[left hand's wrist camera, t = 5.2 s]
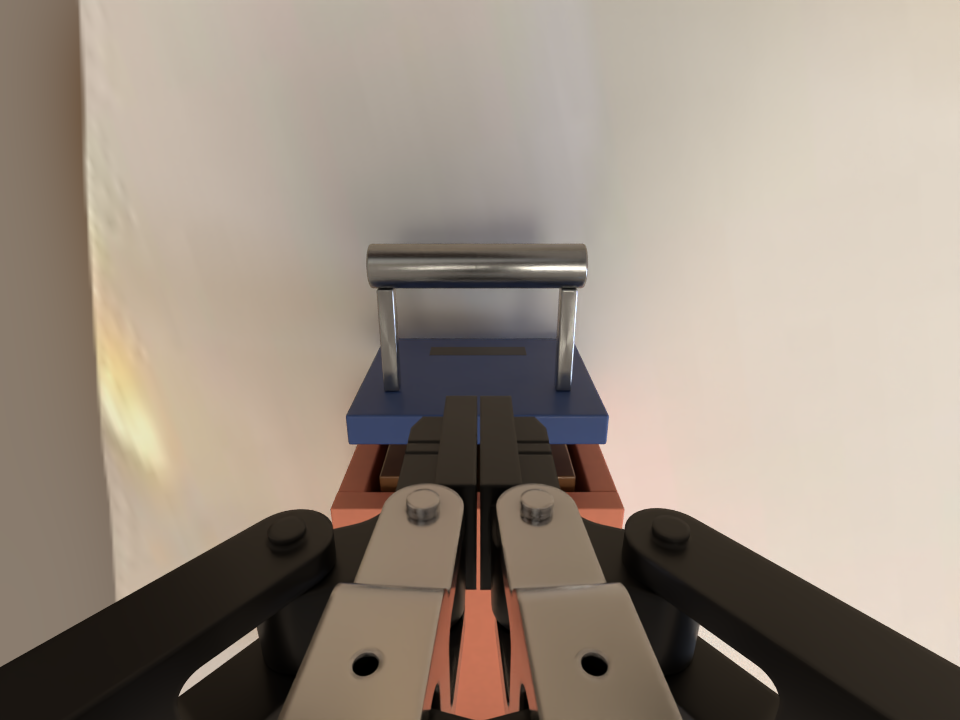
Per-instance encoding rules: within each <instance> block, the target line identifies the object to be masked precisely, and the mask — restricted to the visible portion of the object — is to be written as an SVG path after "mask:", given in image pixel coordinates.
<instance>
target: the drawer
mask: <svg viewBox="0 0 960 720" xmlns="http://www.w3.org/2000/svg"><path fill="white" fill-rule="evenodd" d="M366 267H367V277H368V282H369V285H370V287H371V288H378V289H377V302H378V315H379V329H380V342H381V346H380V348H379V350H378V352H377V354H376V356H375V358H374V361H373V363H372V365H371V367H370V369H369V371H368V373H367V375H366V377H365V379H364V381H363V383H362V385H361V387H360V389H359V391H358V393H357V395H356V397H355V399H354V401H353V403H352V405H351V407H350V409H349V411H348V413H347V415H346V423H347V432H348V442H349V444H389V447H388V450H387V454H386V457H385V460H384V464H383V467H382V470H381V474H380V477H379V478H380V490H381V492H395V491H396V487H397V483H398V479H399V475H400V471H401V467H402V463H403V459H404V454H405V450H406V446H407V443H408V438H409V434H410V430H411V427H412V426H413V425H414V424H415V423H417V422H418V421H419V420H420V419H421V418H422V417H423V416H443V414H444V407H445V400H446V396H477V492H480V396H511V398H512V406H513V414H514V417H535V418H536V419H537V420H538V421H540V422H541V423H542V424H543V425H544V426H545V427H546V429H547V434H548V438H549V444H550V446H551V451H552V455H553V459H554V464H555V468H556V472H557V476H558V481H559V485H560V489H561V490H562V491H564V492H575V479H576V477H575V473H574V470H573V466H572V463H571V459H570V456H569V452H568V449H567V445H566V444H606V441H607V430H608V420H609V415H608V413H607V411H606V409H605V407H604V405H603V403H602V401H601V398H600V396H599V394H598V392H597V390H596V388H595V386H594V384H593V382H592V380H591V377H590V375H589V373H588V371H587V369H586V367H585V365H584V363H583V361H582V358H581V356H580V354H579V352H578V350H577V348H576V346H575V344H574V340H575V325H576V311H577V296H578V290H577V288H583V287H584V286H585V283H586V279H587V272H588V254H587V249H586V246H585V244H370V245H369V247H368V250H367V259H366ZM395 288H559V304H558V322H557V339H398V322H397V306H396V289H395Z"/></svg>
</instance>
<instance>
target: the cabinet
mask: <svg viewBox="0 0 960 720" xmlns="http://www.w3.org/2000/svg"><path fill="white" fill-rule="evenodd" d="M566 445H567V449H568V452H569V456H570V459H571V463H572V466H573V470H574V473H575V477H576V479H575V492H565V493H567V494H568V495H569V496H570V497H571V498H572V499H573V500H574V501H575V503H576V505H577V508H578V510H579V513H580V515H581V517H583V518H585V519H587V520H590V521H592V522H595V523H599V524H602V525H607V526H611V527H616V528H620V529H622V525H623V517H624V507H623V504H622V502H621V499H620V497H619V494H618V493H617V490H616V487H615V485H614V482H613V480H612V477H611V475H610V472H609V469H608V467H607V464H606V462H605V459H604V457H603V454H602V452H601V449H600V447H599V444H566ZM388 447H389V444H358V445H357V447H356V450H355V452H354V454H353V457H352V459H351V462H350V464H349V467H348V469H347V472H346V474H345V476H344V479H343V481H342V484H341V486H340V489H339V491H338V493H337V495H336V497H335V500H334V502H333V505H332V507H331V517H332V525H333V529H335V528H340V527H344V526H349V525H353V524H357V523H361V522H364V521H366V520H369V519H371V518H373V517H375V516H377V515H378V514H380V513H381V510H382V508H383V505H384V503H385V501H386V500H387V499H388V498H389V497H390V496H391V495H392V494H393V493H395V492H381V490H380V478H379V477H380V474H381V470H382V467H383V464H384V460H385V457H386V454H387V450H388ZM455 715H458V716H462V717H465V718H469V719H474V720H486V719H491V718H494V717H498V716H502V715H505V710H504V702H503V693H502V685H501V677H500V668H499V660H498V652H497V643H496V635H495V616H494V614H493V611H492V606H491V590H480V492H477V590H465V635H464V643H463V652H462V660H461V668H460V677H459V685H458V693H457V702H456V710H455Z"/></svg>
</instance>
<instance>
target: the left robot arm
mask: <svg viewBox="0 0 960 720" xmlns="http://www.w3.org/2000/svg"><path fill="white" fill-rule="evenodd" d="M465 590H477V396H446V400H445V407H444V414H443V416H423V417H422V418H421V419H420V420H419V421H418V422H417V423H415V424H414V425H413V426H412V427H411V430H410V434H409V438H408V443H407V446H406V450H405V454H404V459H403V463H402V467H401V471H400V475H399V479H398V483H397V487H396V491H395V493H393V494H392V495H391V496H390V497H389V498H388V499H387V500H386V501H385V503H384V505H383V508H382V510H381V513H380V514H378V515H377V516H375V517H373V518H371V519H369V520H366V521H364V522H361V523H357V524H353V525H349V526H344V527H340V528H335V529H333V525H332V523H331V521H330V520H329V518H328V517H326V516H325V515H324V514H322V513H320V512H317V511H313V510H306V509H297V510H289V511H284V512H280V513H277V514H275V515H272V516H270V517H268V518H266V519H264V520H262V521H260V522H258V523H256V524H255V525H253V526H251V527H249V528H248V529H246V530H244V531H242V532H240V533H239V534H237V535H235V536H233V537H231V538H230V539H228V540H226V541H224V542H223V543H221V544H219V545H217V546H215V547H214V548H212V549H210V550H208V551H207V552H205V553H203V554H201V555H199V556H198V557H196V558H194V559H192V560H190V561H189V562H187V563H185V564H183V565H182V566H180V567H178V568H176V569H174V570H173V571H171V572H169V573H167V574H166V575H164V576H162V577H160V578H158V579H157V580H155V581H153V582H151V583H149V584H148V585H146V586H144V587H142V588H141V589H139V590H137V591H135V592H133V593H132V594H130V595H128V596H126V597H125V598H123V599H121V600H119V601H117V602H116V603H114V604H112V605H110V606H108V607H107V608H105V609H103V610H101V611H100V612H98V613H96V614H94V615H92V616H91V617H89V618H87V619H85V620H84V621H82V622H80V623H78V624H76V625H75V626H73V627H71V628H69V629H67V630H66V631H64V632H62V633H60V634H59V635H57V636H55V637H53V638H52V639H50V640H48V641H46V642H44V643H43V644H41V645H39V646H37V647H35V648H34V649H32V650H30V651H28V652H27V653H25V654H23V655H21V656H19V657H18V658H16V659H14V660H12V661H10V662H9V663H7V664H5V665H3V666H2V667H0V720H474V719H469V718H465V717H462V716H458V715H455V710H456V702H457V693H458V685H459V677H460V668H461V660H462V652H463V643H464V635H465ZM480 590H491V606H492V611H493V614H494V616H495V635H496V643H497V652H498V660H499V668H500V677H501V685H502V693H503V702H504V710H505V715H502V716H498V717H494V718H491V719H486V720H960V667H958V666H957V665H955V664H953V663H951V662H950V661H948V660H946V659H944V658H942V657H941V656H939V655H937V654H935V653H934V652H932V651H930V650H928V649H926V648H925V647H923V646H921V645H919V644H917V643H916V642H914V641H912V640H910V639H909V638H907V637H905V636H903V635H901V634H900V633H898V632H896V631H894V630H893V629H891V628H889V627H887V626H885V625H884V624H882V623H880V622H878V621H876V620H875V619H873V618H871V617H869V616H868V615H866V614H864V613H862V612H860V611H859V610H857V609H855V608H853V607H852V606H850V605H848V604H846V603H844V602H843V601H841V600H839V599H837V598H835V597H834V596H832V595H830V594H828V593H827V592H825V591H823V590H821V589H819V588H818V587H816V586H814V585H812V584H811V583H809V582H807V581H805V580H803V579H802V578H800V577H798V576H796V575H794V574H793V573H791V572H789V571H787V570H786V569H784V568H782V567H780V566H778V565H777V564H775V563H773V562H771V561H770V560H768V559H766V558H764V557H762V556H761V555H759V554H757V553H755V552H753V551H752V550H750V549H748V548H746V547H745V546H743V545H741V544H739V543H737V542H736V541H734V540H732V539H730V538H729V537H727V536H725V535H723V534H721V533H720V532H718V531H716V530H714V529H712V528H711V527H709V526H707V525H705V524H704V523H702V522H700V521H698V520H696V519H695V518H693V517H691V516H689V515H686V514H684V513H681V512H678V511H674V510H670V509H662V508H650V509H644V510H641V511H638V512H636V513H634V514H633V515H631V516H630V517H629V519H628V520H627V522H626V524H625V529H620V528H616V527H611V526H607V525H602V524H599V523H595V522H592V521H590V520H587V519H585V518H583V517H581V515H580V513H579V510H578V508H577V505H576V503H575V501H574V500H573V499H572V498H571V497H570V496H569V495H568V494H567V493H565V492H564V491H562V490H561V489H560V485H559V481H558V476H557V472H556V468H555V464H554V459H553V455H552V451H551V446H550V444H549V438H548V434H547V429H546V427H545V426H544V425H543V424H542V423H541V422H540V421H538V420H537V419H536V418H535V417H514V414H513V406H512V398H511V396H480ZM699 625H701V626H703V627H704V628H705V629H707V630H708V631H710V632H711V633H712V634H714V635H715V636H717V637H718V638H719V639H721V640H722V641H724V642H725V643H726V644H728V645H729V646H731V647H732V648H733V649H735V650H736V651H738V652H739V653H740V654H742V655H743V656H745V657H746V658H747V659H749V660H750V661H752V662H753V663H754V664H756V665H757V666H758V667H760V668H761V669H762V670H763V671H764V672H765V673H766V674H767V675H768V676H769V678H770V679H771V680H772V682H773V683H774V685H775V687H776V689H777V691H778V694H779V695H778V694H777V693H775V692H774V691H773V690H771V689H770V688H769V687H767V686H766V685H764V684H763V683H762V682H760V681H759V680H758V679H756V678H755V677H754V676H752V675H751V674H749V673H748V672H747V671H745V670H744V669H743V668H741V667H740V666H739V665H737V664H736V663H734V662H733V661H732V660H730V659H729V658H728V657H726V656H725V655H724V654H722V653H721V652H719V651H718V650H717V649H715V648H714V647H713V646H711V645H710V644H709V643H707V642H706V641H704V640H703V639H702V638H700V637H699V636H698V630H699ZM256 627H257V630H258V635H259V638H258V639H257V640H256V641H254V642H253V643H251V644H250V645H249V646H247V647H246V648H245V649H243V650H242V651H241V652H239V653H238V654H236V655H235V656H234V657H232V658H231V659H230V660H228V661H227V662H226V663H224V664H223V665H221V666H220V667H219V668H217V669H216V670H215V671H213V672H212V673H211V674H209V675H208V676H206V677H205V678H204V679H202V680H201V681H200V682H198V683H197V684H195V685H194V686H193V687H191V688H190V689H189V690H187V691H186V692H185V693H183V694H182V695H180V696H179V693H180V691H181V689H182V687H183V685H184V684H185V682H186V681H187V680H188V679H189V677H190V676H191V675H192V674H193V673H194V672H195V671H196V670H198V669H199V668H200V667H201V666H203V665H204V664H206V663H207V662H208V661H210V660H211V659H213V658H214V657H215V656H217V655H218V654H220V653H221V652H222V651H224V650H225V649H227V648H228V647H229V646H231V645H232V644H234V643H235V642H236V641H238V640H239V639H241V638H242V637H243V636H245V635H246V634H248V633H249V632H250V631H252V630H253V629H255V628H256ZM178 696H179V697H178Z"/></svg>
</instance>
